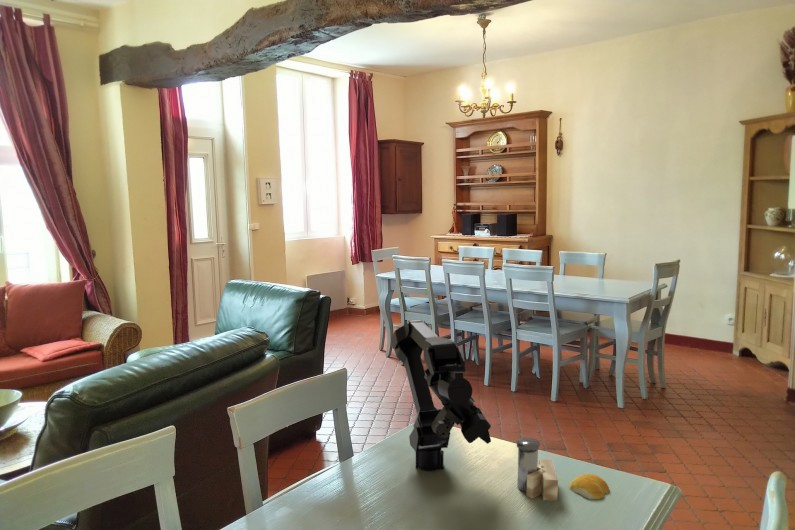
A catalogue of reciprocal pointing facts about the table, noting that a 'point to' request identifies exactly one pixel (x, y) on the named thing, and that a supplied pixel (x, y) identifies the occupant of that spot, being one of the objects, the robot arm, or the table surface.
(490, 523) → the table surface
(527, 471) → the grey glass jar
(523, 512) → the table surface
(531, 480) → the v block
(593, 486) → the bread roll
